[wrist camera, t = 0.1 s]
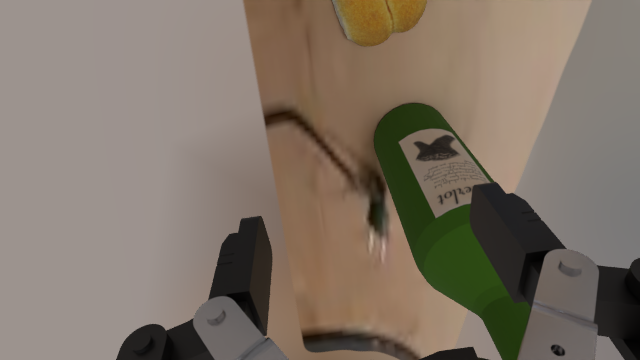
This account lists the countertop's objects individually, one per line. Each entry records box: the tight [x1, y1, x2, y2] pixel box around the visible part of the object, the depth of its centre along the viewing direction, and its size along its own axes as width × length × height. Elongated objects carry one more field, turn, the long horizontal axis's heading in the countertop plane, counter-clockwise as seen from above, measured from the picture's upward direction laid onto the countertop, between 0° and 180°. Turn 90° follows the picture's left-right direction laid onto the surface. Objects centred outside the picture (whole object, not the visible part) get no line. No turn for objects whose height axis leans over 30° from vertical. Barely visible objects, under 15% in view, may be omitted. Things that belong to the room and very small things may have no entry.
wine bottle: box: [374, 103, 531, 360], centre depth 32 cm, size 9×9×32 cm
